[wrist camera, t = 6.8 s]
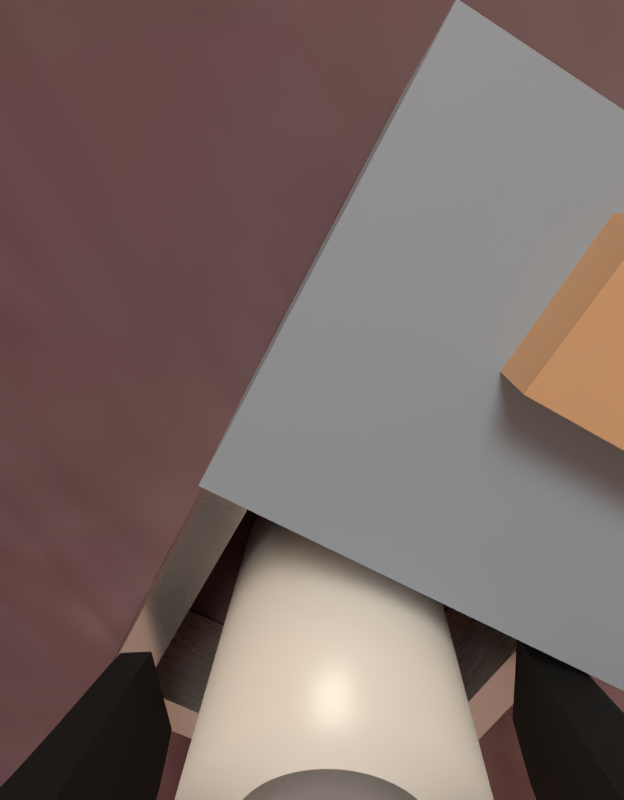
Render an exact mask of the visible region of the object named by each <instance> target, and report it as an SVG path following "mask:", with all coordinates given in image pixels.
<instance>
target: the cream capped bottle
mask: <svg viewBox="0 0 624 800" xmlns="http://www.w3.org/2000/svg"><path fill="white" fill-rule="evenodd" d="M175 800H494V799H493V795H492V791H491V788H490V784H489V780H488V776H487V772H486V768H485V765H484V761H483V757H482V753H481V749H480V745H479V742H478V738H477V734H476V730H475V726H474V722H473V719H472V715H471V711H470V707H469V703H468V699H467V696H466V692H465V688H464V684H463V680H462V676H461V673H460V669H459V665H458V661H457V657H456V653H455V650H454V646H453V642H452V638H451V634H450V630H449V627H448V623H447V619H446V615H445V611H444V607H443V604H442V603H440V602H438V601H436V600H434V599H432V598H430V597H428V596H426V595H424V594H422V593H420V592H417V591H415V590H413V589H411V588H409V587H407V586H405V585H403V584H401V583H399V582H397V581H395V580H393V579H391V578H388V577H386V576H384V575H382V574H380V573H378V572H376V571H374V570H372V569H370V568H368V567H366V566H364V565H362V564H359V563H357V562H355V561H353V560H351V559H349V558H347V557H345V556H343V555H341V554H339V553H337V552H335V551H332V550H330V549H328V548H326V547H324V546H322V545H320V544H318V543H316V542H314V541H312V540H310V539H308V538H306V537H303V536H301V535H299V534H297V533H295V532H293V531H291V530H289V529H287V528H285V527H283V526H281V525H279V524H277V523H274V522H272V521H270V520H268V519H266V518H264V517H262V516H260V515H258V517H257V518H256V520H255V522H254V524H253V526H252V528H251V531H250V534H249V537H248V541H247V545H246V548H245V552H244V555H243V559H242V562H241V566H240V569H239V573H238V576H237V580H236V584H235V587H234V591H233V594H232V598H231V601H230V605H229V608H228V612H227V615H226V619H225V623H224V626H223V630H222V633H221V637H220V640H219V644H218V647H217V651H216V654H215V658H214V662H213V665H212V669H211V672H210V676H209V679H208V683H207V686H206V690H205V693H204V697H203V701H202V704H201V708H200V711H199V715H198V718H197V722H196V725H195V729H194V732H193V736H192V740H191V743H190V747H189V750H188V754H187V757H186V761H185V764H184V768H183V771H182V775H181V779H180V782H179V786H178V789H177V793H176V796H175Z"/></svg>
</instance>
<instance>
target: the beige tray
mask: <svg viewBox="0 0 624 800" xmlns="http://www.w3.org/2000/svg"><path fill="white" fill-rule="evenodd" d="M247 510H248V509H245V508H243V507H241V506H239V505H237V504H235V503H233V502H231V501H229V500H227V499H225V498H223V497H221V496H218V495H216V494H214V493H212V492H210V491H208V490H206V489H204V488H203V490H202V492H201V494H200V496H199V498H198V500H197V501H196V503H195V505H194V507H193V509H192V511H191V513H190V515H189V516H188V518H187V520H186V522H185V524H184V526H183V528H182V530H181V531H180V533H179V535H178V537H177V539H176V541H175V543H174V544H173V546H172V548H171V550H170V552H169V554H168V556H167V558H166V559H165V561H164V563H163V565H162V567H161V569H160V571H159V572H158V574H157V576H156V578H155V580H154V582H153V584H152V586H151V587H150V589H149V591H148V593H147V595H146V597H145V599H144V600H143V602H142V604H141V606H140V608H139V610H138V612H137V614H136V616H135V618H134V620H133V622H132V624H131V626H130V628H129V630H128V632H127V634H126V636H125V638H124V640H123V642H122V644H121V646H120V648H119V650H118V652H117V654H116V656H115V658H116V657H117V656H118V655H119V654H120V653H129V652H152V656H153V659H154V663H155V667H156V671H157V675H158V678H159V682H160V686H161V690H162V694H163V698H164V701H165V705H166V709H167V713H168V717H169V720H170V724H171V728H172V730H171V731H174V732H176V733H179V734H181V735H183V736H186V737H188V738H191V739H192V736H193V732H194V729H195V725H196V722H197V718H198V715H199V711H200V708H201V704H202V701H203V697H204V693H205V690H206V686H207V683H208V679H209V676H210V672H211V669H212V665H213V662H214V658H215V654H216V651H217V647H218V644H219V640H220V637H221V633H222V630H223V626H224V625H222V624H219V623H217V622H215V621H213V620H210V619H208V618H206V617H204V616H201V615H199V614H197V613H195V612H192V611H190V610H189V609H190V607H191V606H192V604H193V602H194V601H195V599H196V597H197V595H198V594H199V592H200V590H201V589H202V587H203V585H204V583H205V582H206V580H207V578H208V577H209V575H210V573H211V571H212V570H213V568H214V566H215V565H216V563H217V561H218V559H219V558H220V556H221V554H222V553H223V551H224V549H225V547H226V546H227V544H228V542H229V540H230V539H231V537H232V535H233V534H234V532H235V530H236V528H237V527H238V525H239V523H240V522H241V520H242V518H243V516H244V515H245V513H246V511H247ZM445 615H446V619H447V623H448V627H449V630H450V634H451V638H452V642H453V646H454V650H455V653H456V657H457V661H458V665H459V669H460V673H461V676H462V680H463V684H464V688H465V692H466V696H467V699H468V703H469V707H470V711H471V715H472V719H473V722H474V726H475V730H476V734H477V738H478V740H479V739H480V738H481V737H482V736H483V735H484V734H485V733H486V731H487V730H488V729H489V728H490V727H491V726H492V725H493V724H494V723H495V722H496V721H497V720H498V719H499V718H500V717H501V716H502V715H503V714H504V713H505V712H506V711H507V710H508V709H509V708H510V707H511V706H512V705H513V702H514V684H515V666H516V647H517V639H515V638H513V637H511V636H509V635H507V634H505V633H502V632H500V631H498V630H496V629H494V628H492V627H490V626H488V625H486V624H484V623H482V622H480V621H478V620H476V619H473V618H471V617H469V616H467V615H465V614H463V613H461V612H459V611H457V610H455V609H453V608H451V607H449V608H448V609H447V610H446V611H445ZM115 658H114V660H115ZM114 660H113V661H114Z"/></svg>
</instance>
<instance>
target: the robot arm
mask: <svg viewBox="0 0 624 800" xmlns="http://www.w3.org/2000/svg"><path fill="white" fill-rule="evenodd" d="M513 722H514V726H515V730H516V733H517V737H518V741H519V744H520V748H521V752H522V755H523V759H524V762H525V765H526V769H527V772H528V776H529V779H530V783H531V786H532V788H533V791H534V794H535V796H536V799H537V800H624V713H623V712H622V711H621V710H620V709H619V708H618V706H617V705H616V704H615V703H614V702H613V701H612V700H611V699H610V698H609V697H608V696H607V695H606V693H605V692H604V691H603V690H602V689H601V688H600V687H599V686H598V685H597V684H596V683H595V681H594V680H593V679H592V678H591V677H590V676H589V675H588V674H587V673H585V672H583V671H581V670H579V669H577V668H575V667H573V666H571V665H569V664H567V663H565V662H563V661H560V660H558V659H556V658H554V657H552V656H550V655H548V654H546V653H544V652H542V651H540V650H538V649H536V648H534V647H531V646H529V645H527V644H525V643H523V642H521V641H519V640H517V647H516V666H515V684H514V702H513ZM171 730H172V728H171V724H170V720H169V717H168V713H167V709H166V705H165V701H164V698H163V694H162V690H161V686H160V682H159V678H158V675H157V671H156V667H155V663H154V659H153V656H152V652H129V653H120V654H119V655H118V656H117V657H116V658H115V660H114V661H113V662H112V663H111V664H110V665H109V666H108V667H107V668H106V670H105V671H104V672H103V673H102V674H101V675H100V676H99V678H98V679H97V680H96V681H95V682H94V683H93V685H92V686H91V687H90V688H89V689H88V690H87V691H86V693H85V694H84V695H83V696H82V697H81V698H80V700H79V701H78V702H77V703H76V704H75V705H74V706H73V708H72V709H71V710H70V711H69V712H68V713H67V714H66V716H65V717H64V718H63V719H62V720H61V721H60V723H59V724H58V725H57V726H56V727H55V728H54V729H53V730H52V731H51V733H50V734H49V735H48V736H47V737H46V738H45V739H44V740H43V742H42V743H41V744H40V745H39V746H38V747H37V748H36V749H35V750H34V752H33V753H32V754H31V755H30V756H29V757H28V758H27V759H26V760H25V762H24V763H23V764H22V765H21V766H20V767H19V768H18V769H17V770H16V771H15V772H14V774H13V775H12V776H11V777H10V778H9V779H8V780H7V781H6V782H5V783H4V784H3V785H2V786H1V787H0V800H156V798H157V794H158V791H159V786H160V782H161V778H162V773H163V769H164V764H165V760H166V755H167V750H168V745H169V740H170V735H171Z"/></svg>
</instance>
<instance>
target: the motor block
mask: <svg viewBox="0 0 624 800" xmlns="http://www.w3.org/2000/svg"><path fill="white" fill-rule="evenodd" d="M199 486H200V487H202V488H204V489H206V490H208V491H210V492H212V493H214V494H216V495H218V496H221V497H223V498H225V499H227V500H229V501H231V502H233V503H235V504H237V505H239V506H241V507H243V508H245V509H248V510H250V511H252V512H254V513H256V514H258V515H260V516H262V517H264V518H266V519H268V520H270V521H272V522H274V523H277V524H279V525H281V526H283V527H285V528H287V529H289V530H291V531H293V532H295V533H297V534H299V535H301V536H303V537H306V538H308V539H310V540H312V541H314V542H316V543H318V544H320V545H322V546H324V547H326V548H328V549H330V550H332V551H335V552H337V553H339V554H341V555H343V556H345V557H347V558H349V559H351V560H353V561H355V562H357V563H359V564H362V565H364V566H366V567H368V568H370V569H372V570H374V571H376V572H378V573H380V574H382V575H384V576H386V577H388V578H391V579H393V580H395V581H397V582H399V583H401V584H403V585H405V586H407V587H409V588H411V589H413V590H415V591H417V592H420V593H422V594H424V595H426V596H428V597H430V598H432V599H434V600H436V601H438V602H440V603H442V604H444V605H446V606H449V607H451V608H453V609H455V610H457V611H459V612H461V613H463V614H465V615H467V616H469V617H471V618H473V619H476V620H478V621H480V622H482V623H484V624H486V625H488V626H490V627H492V628H494V629H496V630H498V631H500V632H502V633H505V634H507V635H509V636H511V637H513V638H515V639H517V640H519V641H521V642H523V643H525V644H527V645H529V646H531V647H534V648H536V649H538V650H540V651H542V652H544V653H546V654H548V655H550V656H552V657H554V658H556V659H558V660H560V661H563V662H565V663H567V664H569V665H571V666H573V667H575V668H577V669H579V670H581V671H583V672H585V673H587V674H590V675H592V676H594V677H596V678H598V679H600V680H602V681H604V682H606V683H608V684H610V685H612V686H614V687H616V688H619V689H621V690H623V691H624V110H623V109H621V108H620V107H618V106H617V105H615V104H614V103H612V102H611V101H609V100H608V99H606V98H605V97H603V96H602V95H600V94H599V93H597V92H596V91H594V90H593V89H591V88H590V87H588V86H587V85H585V84H584V83H582V82H581V81H579V80H578V79H576V78H575V77H573V76H572V75H570V74H569V73H567V72H566V71H564V70H563V69H561V68H560V67H558V66H557V65H555V64H554V63H552V62H551V61H549V60H548V59H546V58H545V57H543V56H542V55H540V54H539V53H537V52H536V51H535V50H533V49H532V48H530V47H529V46H527V45H526V44H524V43H523V42H521V41H520V40H518V39H517V38H515V37H514V36H512V35H511V34H509V33H508V32H506V31H505V30H503V29H502V28H500V27H499V26H497V25H496V24H494V23H493V22H491V21H490V20H488V19H487V18H485V17H484V16H482V15H481V14H479V13H478V12H476V11H475V10H473V9H472V8H470V7H469V6H467V5H466V4H464V3H463V2H461V1H460V0H456V1H455V3H454V4H453V6H452V8H451V9H450V11H449V13H448V15H447V16H446V18H445V20H444V22H443V23H442V25H441V27H440V29H439V30H438V32H437V34H436V36H435V37H434V39H433V41H432V42H431V44H430V46H429V48H428V49H427V51H426V53H425V55H424V56H423V58H422V60H421V62H420V63H419V65H418V67H417V69H416V70H415V72H414V74H413V75H412V77H411V79H410V81H409V82H408V84H407V86H406V88H405V89H404V91H403V93H402V95H401V96H400V98H399V100H398V102H397V104H396V106H395V108H394V109H393V111H392V113H391V115H390V117H389V119H388V121H387V123H386V125H385V127H384V128H383V130H382V132H381V134H380V136H379V138H378V140H377V142H376V144H375V146H374V147H373V149H372V151H371V153H370V155H369V157H368V159H367V161H366V163H365V164H364V166H363V168H362V170H361V172H360V174H359V176H358V178H357V180H356V182H355V183H354V185H353V187H352V189H351V191H350V193H349V195H348V197H347V199H346V201H345V202H344V204H343V206H342V208H341V210H340V212H339V214H338V216H337V218H336V220H335V221H334V223H333V225H332V227H331V229H330V231H329V233H328V235H327V237H326V238H325V240H324V242H323V244H322V246H321V248H320V250H319V252H318V254H317V256H316V257H315V259H314V261H313V263H312V265H311V267H310V269H309V271H308V273H307V275H306V276H305V278H304V280H303V282H302V284H301V286H300V288H299V290H298V292H297V293H296V295H295V297H294V299H293V301H292V303H291V305H290V307H289V309H288V311H287V312H286V314H285V316H284V318H283V320H282V322H281V324H280V326H279V328H278V330H277V331H276V333H275V335H274V337H273V339H272V341H271V343H270V345H269V347H268V348H267V350H266V352H265V354H264V356H263V358H262V360H261V362H260V364H259V366H258V367H257V369H256V371H255V373H254V375H253V377H252V379H251V381H250V383H249V385H248V387H247V389H246V391H245V393H244V395H243V397H242V399H241V401H240V403H239V405H238V407H237V409H236V411H235V413H234V415H233V417H232V419H231V421H230V423H229V425H228V427H227V429H226V431H225V433H224V435H223V437H222V439H221V441H220V443H219V445H218V447H217V449H216V452H215V454H214V456H213V458H212V460H211V462H210V464H209V466H208V468H207V470H206V472H205V474H204V476H203V478H202V480H201V482H200V484H199Z"/></svg>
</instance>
